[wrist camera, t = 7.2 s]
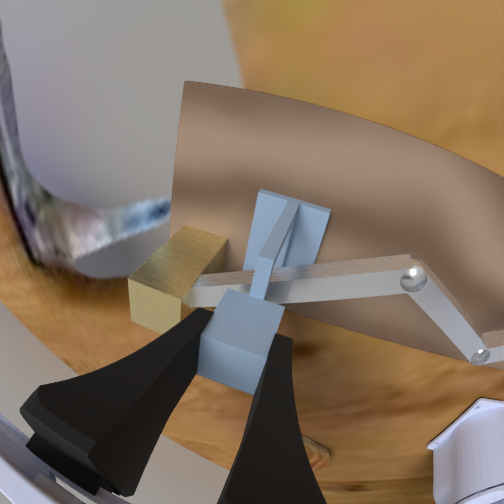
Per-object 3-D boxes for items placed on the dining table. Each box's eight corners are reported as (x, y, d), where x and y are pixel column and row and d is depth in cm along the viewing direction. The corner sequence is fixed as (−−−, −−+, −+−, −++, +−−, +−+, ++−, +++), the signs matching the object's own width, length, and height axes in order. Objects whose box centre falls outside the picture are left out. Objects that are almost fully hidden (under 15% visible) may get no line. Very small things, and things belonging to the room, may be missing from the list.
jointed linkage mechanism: (584, 314, 14) (614, 369, 9) (183, 271, 22) (134, 330, 17) (609, 254, 11) (651, 304, 6) (172, 198, 20) (109, 245, 14)
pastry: (343, 442, 29) (338, 472, 26) (319, 461, 33) (313, 487, 30) (263, 418, 30) (252, 448, 27) (248, 440, 34) (238, 466, 31)
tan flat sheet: (532, 372, 18) (533, 376, 18) (171, 266, 23) (167, 270, 23) (612, 250, 11) (615, 253, 11) (188, 80, 16) (184, 80, 16)
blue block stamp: (331, 207, 17) (307, 325, 9) (302, 295, 20) (263, 422, 12) (261, 187, 18) (180, 282, 10) (243, 276, 21) (177, 391, 13)
